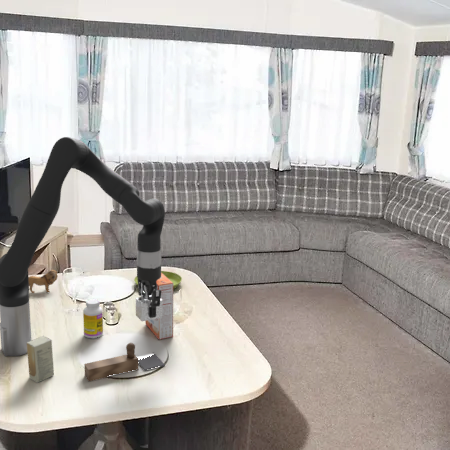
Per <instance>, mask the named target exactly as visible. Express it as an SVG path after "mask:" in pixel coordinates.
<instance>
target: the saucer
mask: <svg viewBox="0 0 450 450" xmlns="http://www.w3.org/2000/svg"><path fill="white" fill-rule="evenodd" d="M161 273H162V274H164V275H165V276H166V277H167V278H168V279H169V280H170V281H171V282H172V283H173V290H174V289H176V288H177V287H179V285H180V284H181V282H182V280H183V278H182V276H181V275H179V273H175V272H173V271H167V270H161ZM137 279H138V278H137V275H136V276H135V277H134V279H133V282H134V284H135V285H137V286H138V280H137Z"/></svg>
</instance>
